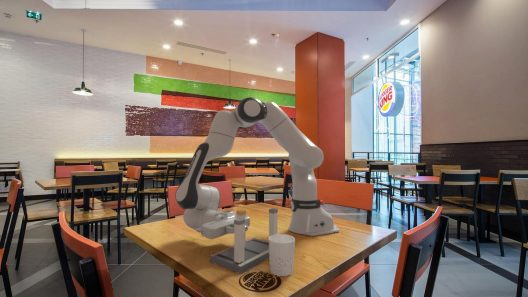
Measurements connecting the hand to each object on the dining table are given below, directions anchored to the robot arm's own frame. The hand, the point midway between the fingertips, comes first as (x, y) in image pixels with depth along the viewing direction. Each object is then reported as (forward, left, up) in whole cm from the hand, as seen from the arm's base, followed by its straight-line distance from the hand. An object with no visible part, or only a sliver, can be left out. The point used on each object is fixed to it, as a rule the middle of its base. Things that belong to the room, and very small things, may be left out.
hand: (242, 230), depth 91 cm
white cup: (-10, +15, -9) cm, 20 cm away
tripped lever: (+1, -1, -6) cm, 6 cm away
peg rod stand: (-2, +2, -8) cm, 9 cm away
